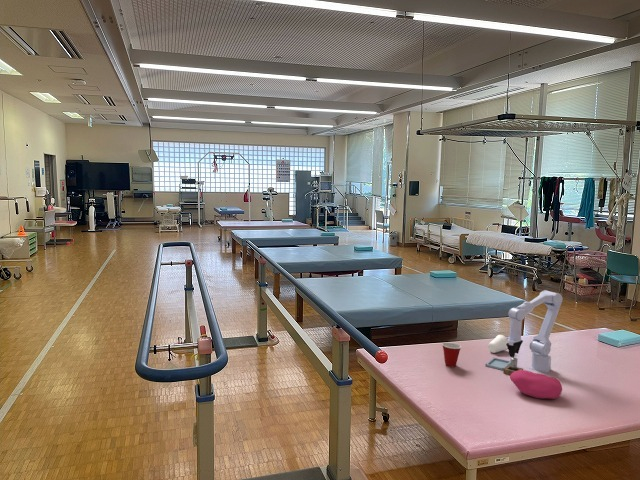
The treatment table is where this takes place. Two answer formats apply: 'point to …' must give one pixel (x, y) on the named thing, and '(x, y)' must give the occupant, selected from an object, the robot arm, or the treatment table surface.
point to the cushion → (536, 384)
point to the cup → (498, 344)
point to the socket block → (508, 371)
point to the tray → (497, 363)
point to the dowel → (513, 364)
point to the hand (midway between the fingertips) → (514, 354)
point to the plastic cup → (451, 353)
